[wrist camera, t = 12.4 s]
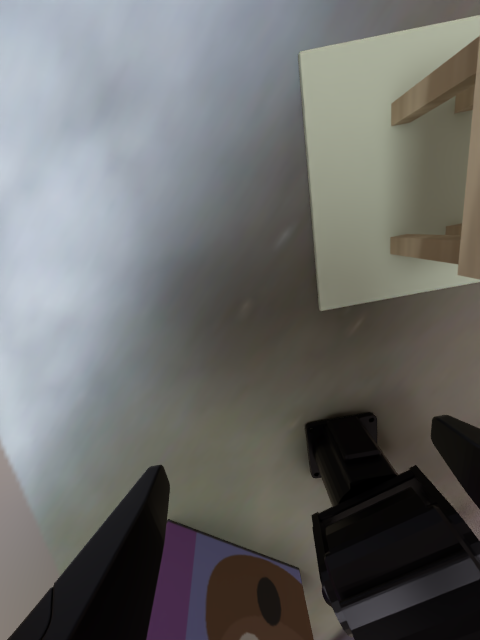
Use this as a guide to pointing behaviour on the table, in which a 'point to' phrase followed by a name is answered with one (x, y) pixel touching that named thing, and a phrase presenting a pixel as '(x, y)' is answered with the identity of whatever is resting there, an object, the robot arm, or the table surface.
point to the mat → (382, 162)
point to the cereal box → (224, 592)
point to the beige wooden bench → (471, 94)
